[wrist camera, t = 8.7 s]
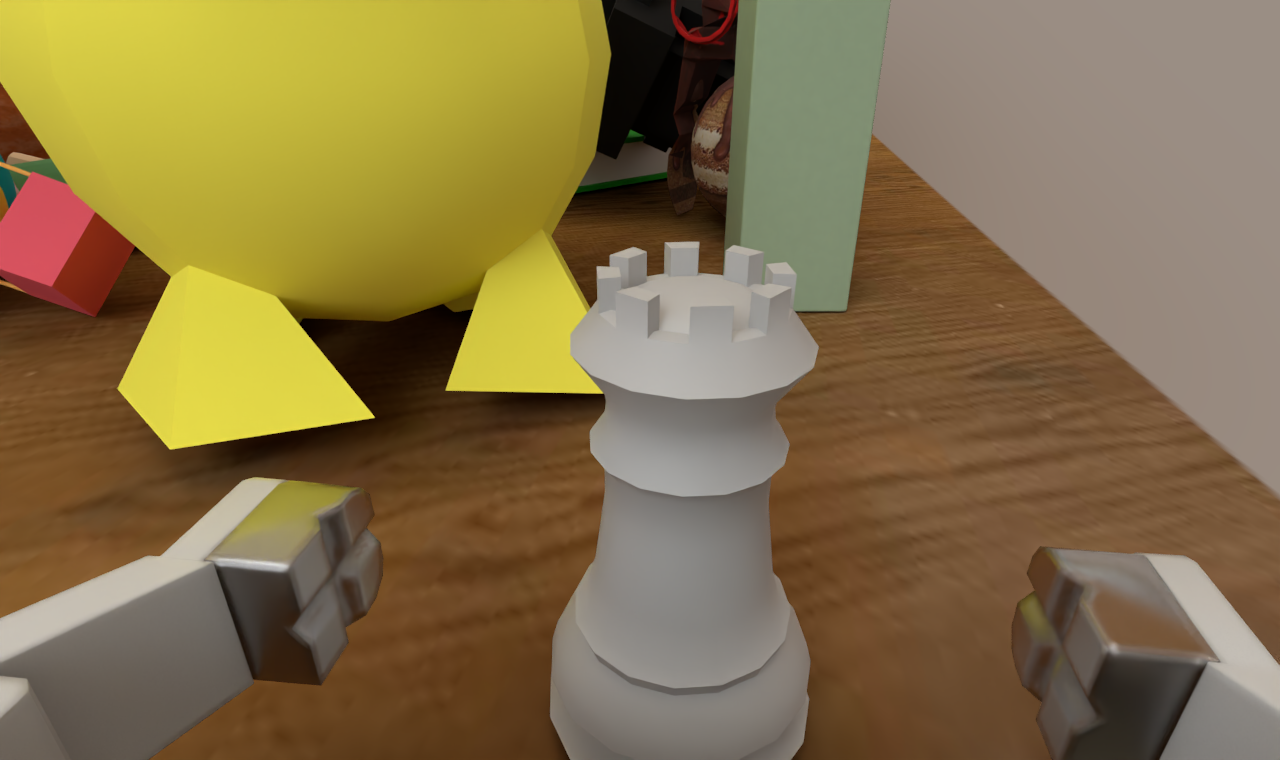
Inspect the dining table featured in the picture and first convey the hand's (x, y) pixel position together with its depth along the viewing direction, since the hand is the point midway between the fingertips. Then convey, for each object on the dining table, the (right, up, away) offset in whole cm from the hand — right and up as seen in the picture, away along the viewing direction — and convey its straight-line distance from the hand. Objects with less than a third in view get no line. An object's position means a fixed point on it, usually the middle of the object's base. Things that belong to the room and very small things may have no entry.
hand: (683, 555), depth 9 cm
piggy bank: (-10, +4, +18) cm, 21 cm away
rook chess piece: (0, -4, +4) cm, 5 cm away
